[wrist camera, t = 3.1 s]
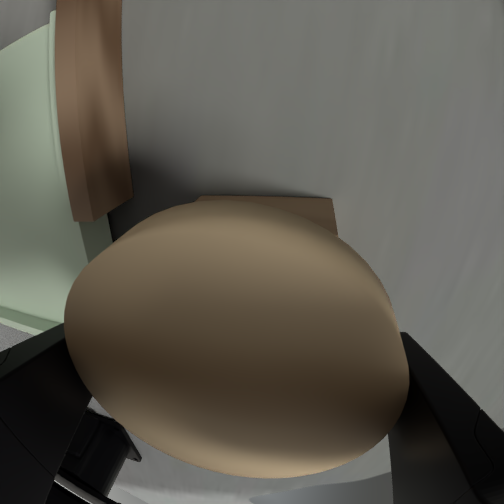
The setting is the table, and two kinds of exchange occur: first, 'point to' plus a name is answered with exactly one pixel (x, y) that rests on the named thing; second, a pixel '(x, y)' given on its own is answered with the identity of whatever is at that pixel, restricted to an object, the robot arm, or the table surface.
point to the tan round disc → (239, 340)
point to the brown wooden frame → (91, 106)
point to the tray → (37, 192)
